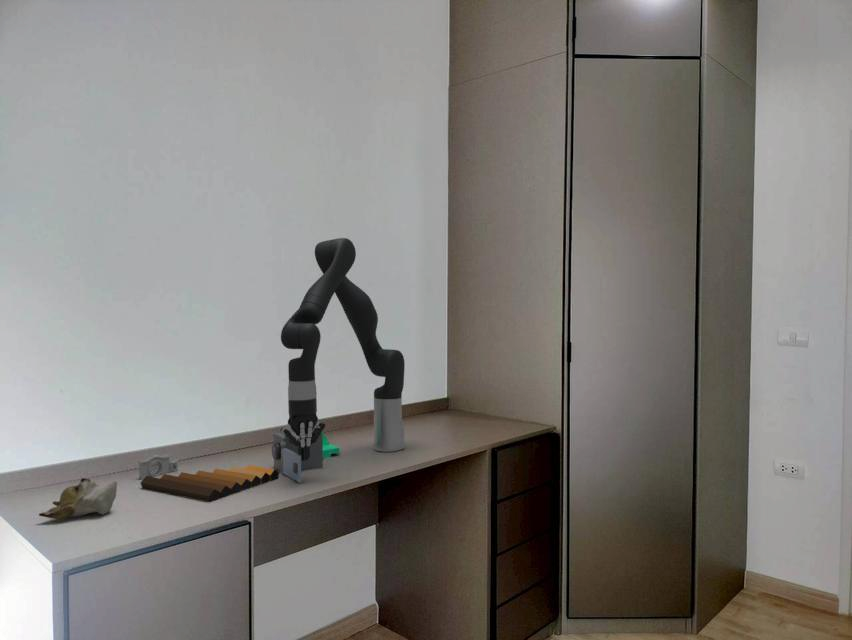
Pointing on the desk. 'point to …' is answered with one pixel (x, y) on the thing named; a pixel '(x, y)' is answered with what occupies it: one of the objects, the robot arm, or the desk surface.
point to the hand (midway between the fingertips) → (304, 459)
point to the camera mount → (328, 447)
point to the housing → (315, 451)
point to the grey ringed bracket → (161, 462)
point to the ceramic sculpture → (83, 500)
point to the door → (291, 464)
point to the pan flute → (211, 482)
